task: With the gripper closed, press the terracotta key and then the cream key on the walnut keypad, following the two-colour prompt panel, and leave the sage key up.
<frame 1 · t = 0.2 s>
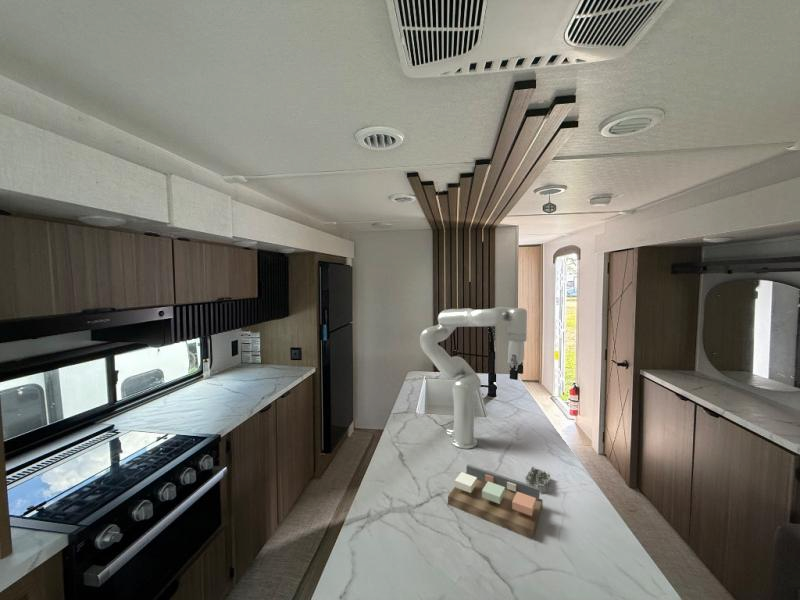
hand: (516, 376, 140), 37 cm above the countertop, tool pointing down, fingers open, 9 cm apart
key terracotta: (524, 503, 105), point 6 cm above the countertop, slide at 0.0 cm
key cream: (465, 482, 116), point 6 cm above the countertop, slide at 0.0 cm
key sage: (493, 492, 111), point 6 cm above the countertop, slide at 0.0 cm
keypad: (494, 506, 113), on the countertop
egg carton: (537, 485, 124), on the countertop
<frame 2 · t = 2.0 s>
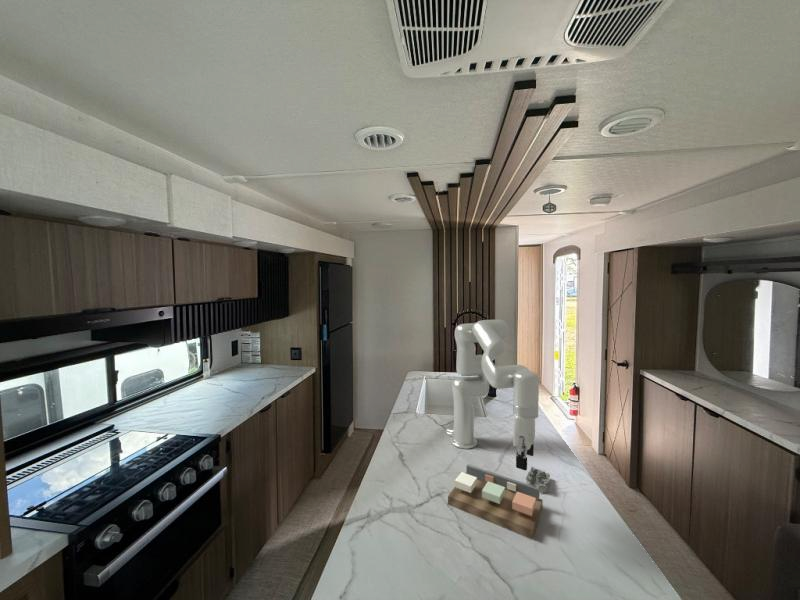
hand: (525, 461, 105), 19 cm above the countertop, tool pointing down, fingers open, 9 cm apart
nothing on the countertop moved.
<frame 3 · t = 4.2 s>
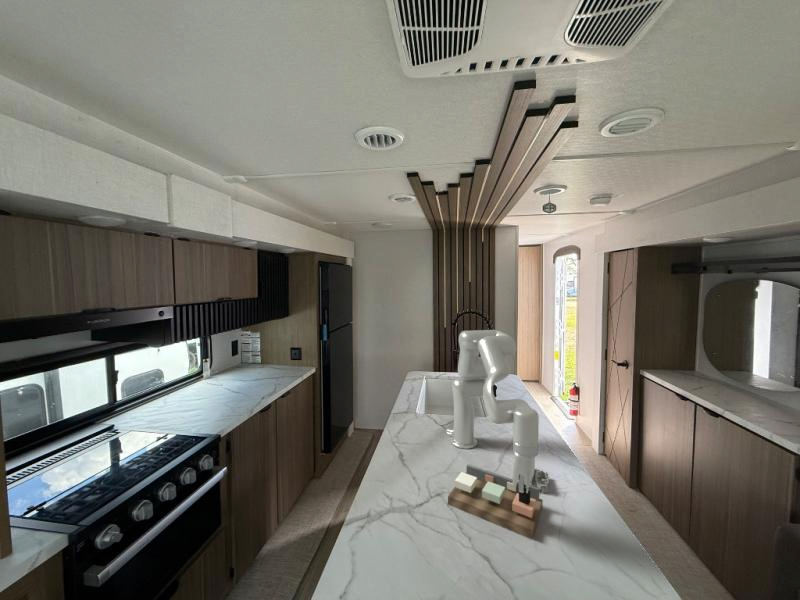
hand: (524, 501, 105), 7 cm above the countertop, tool pointing down, fingers closed
key terracotta: (524, 505, 105), point 5 cm above the countertop, slide at 0.6 cm, touching gripper
everything else where it was.
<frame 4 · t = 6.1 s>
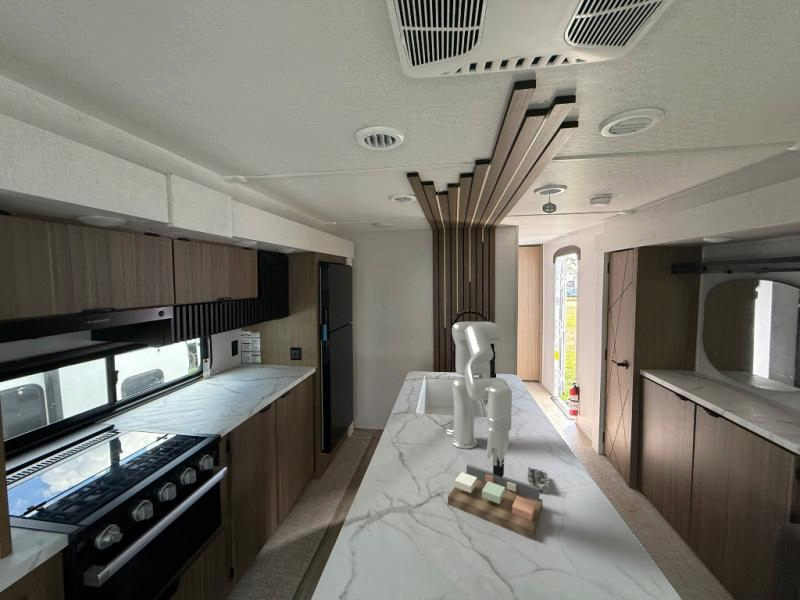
hand: (498, 474, 110), 13 cm above the countertop, tool pointing down, fingers closed
key terracotta: (523, 507, 105), point 4 cm above the countertop, slide at 1.6 cm
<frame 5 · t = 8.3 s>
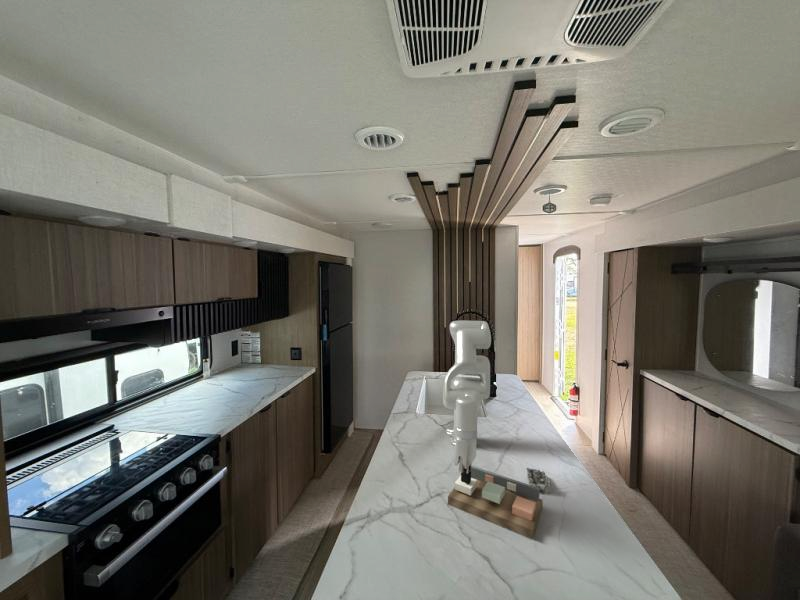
hand: (466, 481, 116), 6 cm above the countertop, tool pointing down, fingers closed
key cream: (465, 484, 117), point 5 cm above the countertop, slide at 0.9 cm, touching gripper
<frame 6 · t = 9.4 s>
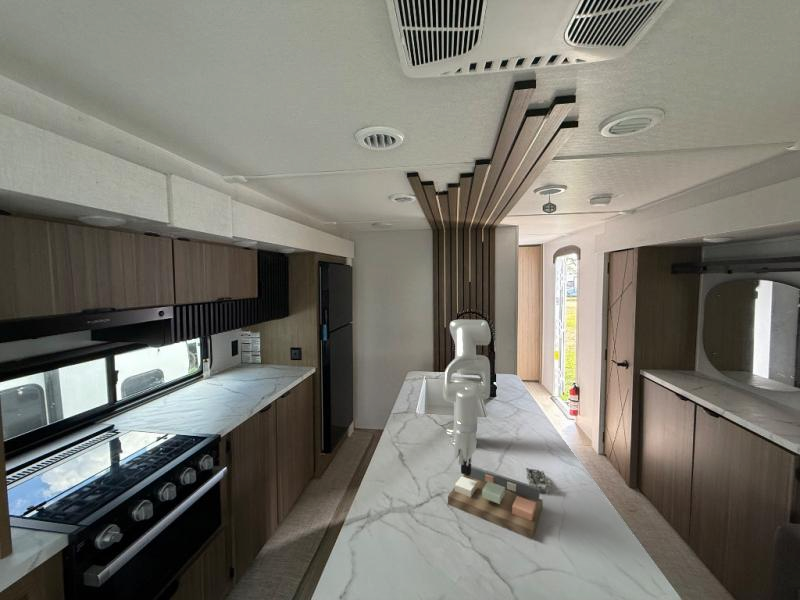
hand: (465, 473, 117), 9 cm above the countertop, tool pointing down, fingers closed
key cream: (465, 486, 117), point 4 cm above the countertop, slide at 1.6 cm
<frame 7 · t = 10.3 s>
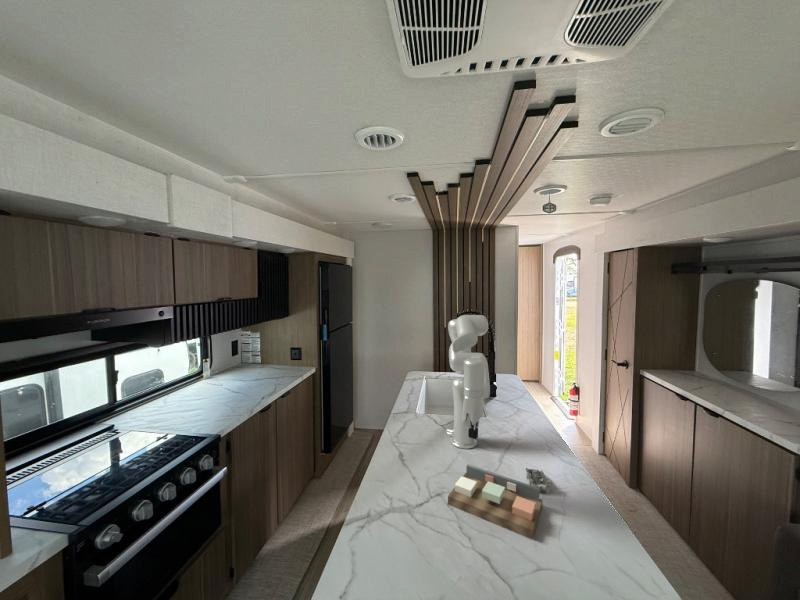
hand: (473, 437, 124), 18 cm above the countertop, tool pointing down, fingers closed
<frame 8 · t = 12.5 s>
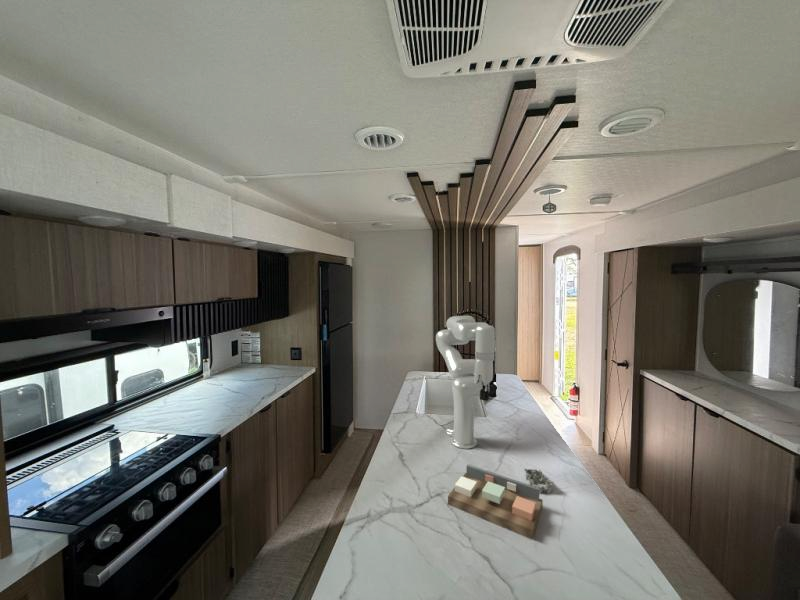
hand: (484, 399, 133), 29 cm above the countertop, tool pointing down, fingers closed
at the end: key terracotta slide at 1.6 cm; key cream slide at 1.6 cm; key sage slide at 0.0 cm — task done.
